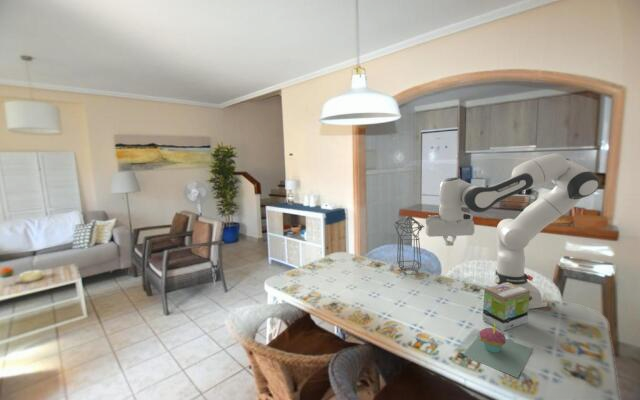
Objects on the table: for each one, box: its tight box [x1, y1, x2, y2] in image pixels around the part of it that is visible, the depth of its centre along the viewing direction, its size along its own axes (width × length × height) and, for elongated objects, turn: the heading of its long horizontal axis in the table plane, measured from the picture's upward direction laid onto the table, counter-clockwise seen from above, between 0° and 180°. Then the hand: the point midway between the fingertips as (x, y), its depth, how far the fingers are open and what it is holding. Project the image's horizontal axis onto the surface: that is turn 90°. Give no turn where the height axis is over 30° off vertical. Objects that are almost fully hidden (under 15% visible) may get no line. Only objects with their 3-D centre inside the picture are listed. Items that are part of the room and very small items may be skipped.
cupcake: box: [478, 321, 507, 353], centre depth 109 cm, size 9×8×12 cm
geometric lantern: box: [393, 215, 425, 275], centre depth 182 cm, size 16×16×35 cm
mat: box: [462, 335, 534, 379], centre depth 109 cm, size 20×20×1 cm
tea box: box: [482, 282, 530, 332], centre depth 125 cm, size 15×10×15 cm, turn 114°
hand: (449, 245), depth 132 cm, fingers closed
